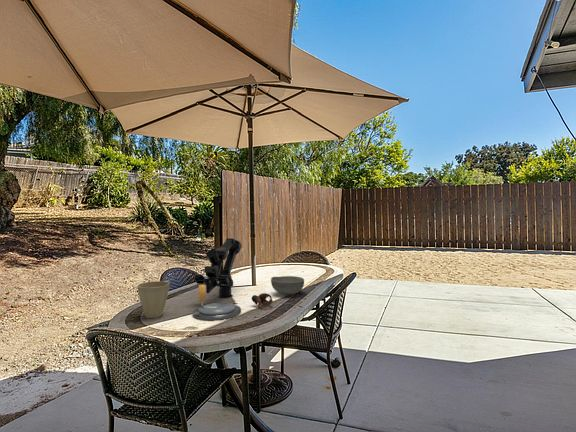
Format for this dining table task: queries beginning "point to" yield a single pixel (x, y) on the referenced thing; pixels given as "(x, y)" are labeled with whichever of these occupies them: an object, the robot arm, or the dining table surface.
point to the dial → (213, 305)
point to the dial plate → (216, 317)
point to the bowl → (287, 284)
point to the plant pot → (153, 297)
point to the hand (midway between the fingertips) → (207, 293)
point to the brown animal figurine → (262, 300)
